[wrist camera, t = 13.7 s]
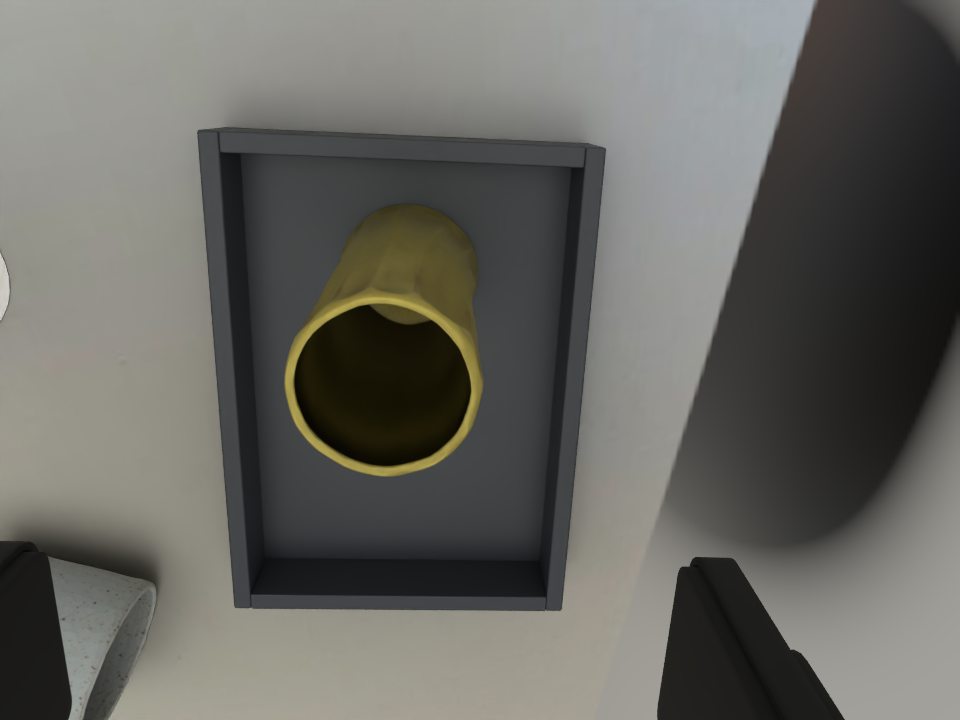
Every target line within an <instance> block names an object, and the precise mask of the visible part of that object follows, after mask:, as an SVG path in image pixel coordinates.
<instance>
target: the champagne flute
mask: <svg viewBox="0 0 960 720" xmlns="http://www.w3.org/2000/svg"><path fill="white" fill-rule="evenodd" d="M9 294H10V286H9V276H8V272H7V269H6V265H5V262H4V260H3V258H2V256H1V254H0V320H1V319H2V318H3V316H4V313H5V311H6V308H7V306H8V300H9Z"/></svg>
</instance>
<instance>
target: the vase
mask: <svg viewBox="0 0 960 720" xmlns="http://www.w3.org/2000/svg"><path fill="white" fill-rule="evenodd" d="M477 282H478V267H477V261H476V256H475V252H474V249H473V247H472V244H471V242H470V241H469V239H468V238H467V236H466V235H465V233H464V232H463V231H462V230H461V229H460V228H459V227H458V226H457V225H456V224H455V223H454V222H453V221H452V220H450V219H449V218H448V217H447V216H445V215H444V214H442V213H440V212H438V211H436V210H433V209H430V208H428V207H424V206H419V205H413V204H400V205H394V206H390V207H386V208H383V209H381V210H378V211H376V212H374V213H372V214H371V215H369V216H368V217H366V218H365V219H364V220H363V221H361V222H360V223H359V224H358V225H357V226H356V228H355V229H354V230H353V231H352V233H351V234H350V235H349V237H348V239H347V241H346V243H345V245H344V248H343V250H342V253H341V258H340V262H339V264H338V265H337V267H336V269H335V270H334V272H333V274H332V276H331V277H330V279H329V281H328V283H327V285H326V287H325V288H324V290H323V292H322V294H321V296H320V298H319V300H318V301H317V303H316V305H315V307H314V309H313V310H312V312H311V314H310V315H309V317H308V318H307V320H306V322H305V323H304V325H303V326H302V328H301V329H300V331H299V332H298V334H297V335H296V336H295V338H294V341H293V343H292V346H291V348H290V351H289V355H288V358H287V363H286V367H285V375H284V387H285V393H286V398H287V402H288V406H289V410H290V413H291V416H292V418H293V421H294V423H295V425H296V427H297V428H298V430H299V431H300V432H301V434H302V435H303V436H304V437H305V439H306V440H307V441H308V442H309V443H310V444H311V445H312V446H313V447H314V448H315V449H316V450H318V451H319V452H321V453H322V454H324V455H325V456H327V457H328V458H330V459H331V460H333V461H335V462H336V463H338V464H340V465H342V466H343V467H346V468H348V469H351V470H353V471H357V472H361V473H365V474H370V475H374V476H383V477H392V476H399V475H404V474H408V473H412V472H416V471H420V470H423V469H426V468H429V467H431V466H434V465H436V464H437V463H439V462H441V461H442V460H444V459H445V458H446V457H447V456H449V455H450V454H451V453H452V452H453V451H454V450H455V449H456V448H457V447H458V446H459V445H460V444H461V443H462V441H463V440H464V439H465V438H466V436H467V435H468V433H469V432H470V430H471V428H472V426H473V424H474V420H475V417H476V414H477V411H478V408H479V404H480V400H481V396H482V392H483V383H484V382H483V375H482V369H481V363H480V357H479V350H478V339H477V333H476V324H475V319H474V314H473V307H472V300H473V297H474V294H475V291H476V287H477Z"/></svg>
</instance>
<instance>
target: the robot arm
mask: <svg viewBox="0 0 960 720" xmlns="http://www.w3.org/2000/svg"><path fill="white" fill-rule="evenodd" d="M71 709H72V695H71V689H70V683H69V677H68V671H67V665H66V659H65V653H64V647H63V641H62V635H61V628H60V622H59V616H58V610H57V604H56V598H55V592H54V586H53V580H52V574H51V568H50V562H49V559H48V556H47V555H46V554H45V553H43V552H38V549H37V547H36V546H35V544H34V543H31V542H20V541H0V720H69V717H70V713H71ZM657 718H658V720H845V719H844V718H843V716H842V715H841V713H840V712H839V710H838V708H837V707H836V705H835V704H834V702H833V701H832V699H831V698H830V696H829V694H828V693H827V691H826V690H825V688H824V687H823V685H822V683H821V682H820V680H819V679H818V677H817V675H816V674H815V672H814V671H813V669H812V668H811V666H810V664H809V663H808V661H807V660H806V659H805V658H804V656H803V655H802V654H801V653H799V652H797V651H795V650H790V648H789V647H788V645H787V643H786V642H785V640H784V639H783V637H782V636H781V634H780V632H779V631H778V629H777V627H776V626H775V624H774V622H773V621H772V619H771V617H770V616H769V614H768V613H767V611H766V610H765V608H764V606H763V605H762V603H761V601H760V600H759V598H758V596H757V595H756V593H755V592H754V590H753V588H752V587H751V585H750V584H749V582H748V580H747V579H746V577H745V575H744V574H743V573H742V571H741V569H740V568H739V566H738V564H737V563H736V561H735V560H734V559H732V558H710V557H709V558H708V557H695V558H693V559H692V561H691V564H690V567H681V568H680V570H679V573H678V577H677V584H676V591H675V597H674V604H673V610H672V617H671V623H670V629H669V636H668V643H667V649H666V657H665V663H664V669H663V676H662V682H661V688H660V695H659V701H658V710H657Z"/></svg>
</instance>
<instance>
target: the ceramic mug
mask: <svg viewBox="0 0 960 720" xmlns="http://www.w3.org/2000/svg"><path fill="white" fill-rule="evenodd" d="M48 559H49V562H50V568H51V574H52V580H53V586H54V592H55V598H56V604H57V610H58V616H59V622H60V628H61V635H62V641H63V647H64V653H65V659H66V665H67V671H68V677H69V683H70V689H71V695H72V709H71V713H70V717H69V720H108V719H109V717H110V715H111V714H112V712H113V710H114V708H115V706H116V704H117V702H118V700H119V698H120V696H121V694H122V692H123V690H124V689H125V687H126V685H127V683H128V680H129V678H130V676H131V673H132V671H133V669H134V667H135V665H136V662H137V659H138V657H139V655H140V653H141V650H142V647H143V645H144V642H145V640H146V636H147V632H148V629H149V626H150V623H151V621H152V617H153V613H154V608H155V603H156V595H157V591H156V588H155V585H154V584H153V583H152V582H150V581H147V580H144V579H139V578H134V577H129V576H125V575H122V574H118V573H114V572H111V571H107V570H103V569H98V568H94V567H90V566H86V565H81V564H77V563H72V562H68V561H64V560H60V559H56V558H52V557H49V556H48Z"/></svg>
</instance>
